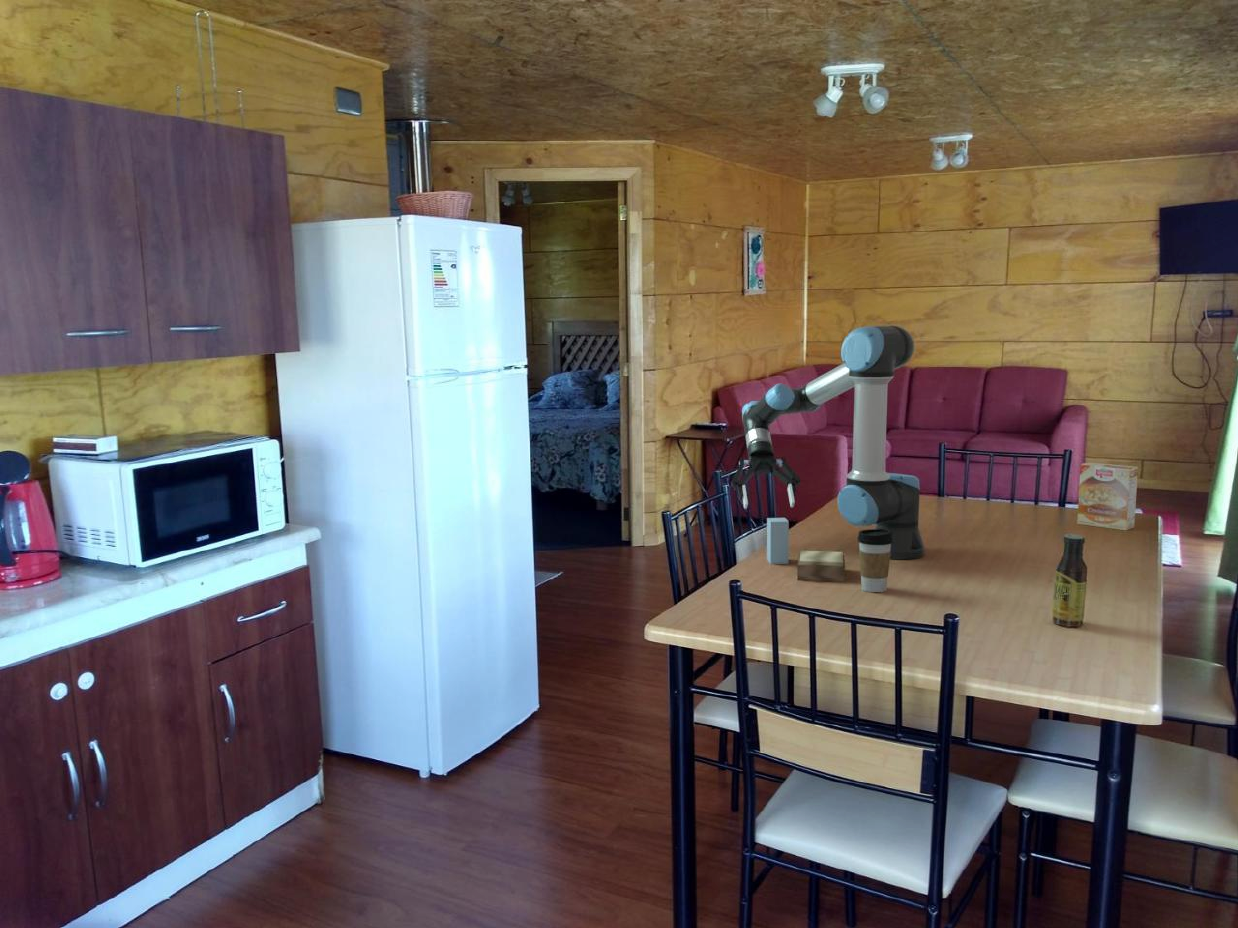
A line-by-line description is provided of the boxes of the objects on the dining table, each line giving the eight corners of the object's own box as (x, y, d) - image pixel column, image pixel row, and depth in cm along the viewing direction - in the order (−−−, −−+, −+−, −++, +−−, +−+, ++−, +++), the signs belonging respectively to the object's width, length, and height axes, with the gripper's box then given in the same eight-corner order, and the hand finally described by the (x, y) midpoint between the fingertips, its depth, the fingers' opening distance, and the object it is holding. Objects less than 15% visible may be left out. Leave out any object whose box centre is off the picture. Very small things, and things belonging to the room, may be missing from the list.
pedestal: (843, 569, 252) (844, 551, 251) (844, 581, 240) (845, 562, 239) (798, 567, 254) (798, 550, 253) (797, 579, 243) (797, 561, 242)
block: (784, 559, 264) (784, 517, 262) (788, 563, 259) (788, 521, 257) (766, 559, 264) (767, 518, 262) (770, 564, 259) (770, 521, 257)
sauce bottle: (1046, 620, 207) (1050, 532, 204) (1073, 618, 207) (1077, 531, 204) (1062, 629, 200) (1067, 539, 197) (1090, 628, 201) (1095, 538, 198)
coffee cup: (893, 594, 228) (894, 535, 225) (857, 593, 229) (858, 534, 227) (890, 585, 236) (891, 527, 234) (855, 584, 238) (856, 526, 235)
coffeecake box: (1076, 524, 300) (1079, 464, 297) (1085, 520, 304) (1088, 461, 301) (1126, 531, 289) (1130, 468, 286) (1134, 527, 293) (1138, 466, 290)
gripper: (798, 453, 285) (809, 511, 273) (717, 455, 284) (725, 513, 272) (802, 438, 279) (814, 496, 267) (719, 440, 278) (727, 499, 266)
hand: (769, 505), depth 269 cm, fingers open, 13 cm apart
